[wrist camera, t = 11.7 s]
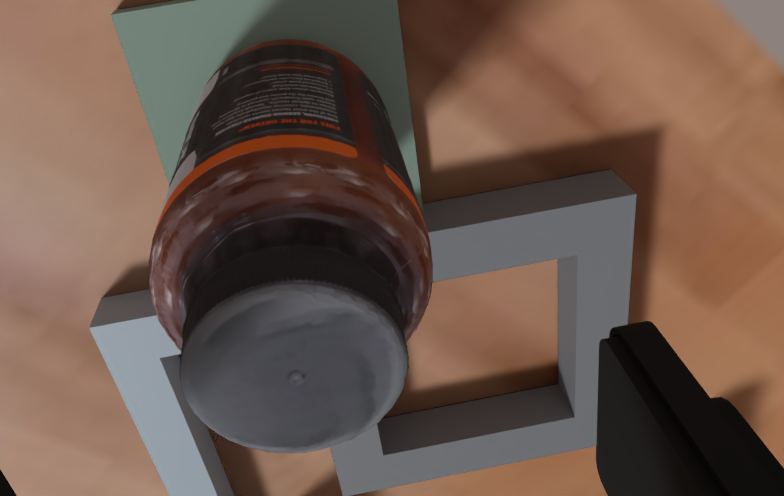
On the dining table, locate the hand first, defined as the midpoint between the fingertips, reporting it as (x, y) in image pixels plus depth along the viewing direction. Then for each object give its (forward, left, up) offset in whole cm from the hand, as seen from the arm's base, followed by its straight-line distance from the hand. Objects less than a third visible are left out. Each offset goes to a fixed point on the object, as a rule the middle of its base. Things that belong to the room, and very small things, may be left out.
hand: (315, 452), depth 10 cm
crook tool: (-12, +5, -14) cm, 19 cm away
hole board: (-9, -5, -13) cm, 17 cm away
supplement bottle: (0, 0, -13) cm, 13 cm away
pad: (+1, 0, -13) cm, 13 cm away
